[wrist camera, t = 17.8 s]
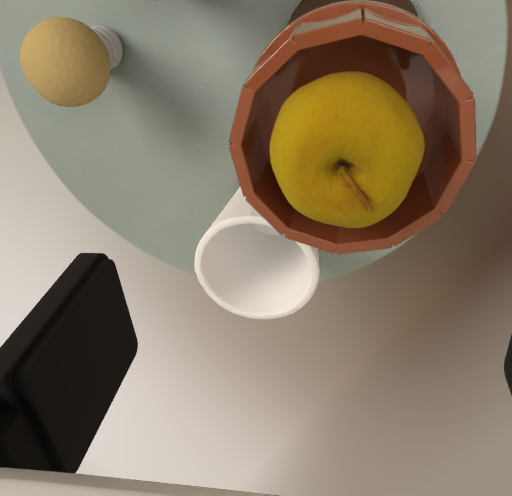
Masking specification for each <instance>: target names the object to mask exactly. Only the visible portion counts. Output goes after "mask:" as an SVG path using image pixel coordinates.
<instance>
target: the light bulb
mask: <svg viewBox="0 0 512 496" xmlns="http://www.w3.org/2000/svg"><path fill="white" fill-rule="evenodd" d="M122 55H123V47H122V44H121V41H120V39H119V37H118V36H117V34H116V33H115V32H114V31H113V30H111V29H110V28H108V27H106V26H104V25H93V26H90V27H88V26H87V25H85V24H84V23H82V22H80V21H77V20H74V19H71V18H65V17H56V18H49V19H47V20H44V21H42V22H40V23H38V24H37V25H36V26H34V27H33V28H32V29H31V30H30V31H29V33H28V34H27V36H26V37H25V39H24V41H23V44H22V47H21V51H20V62H21V67H22V69H23V72H24V74H25V76H26V78H27V80H28V81H29V83H30V84H31V85H32V87H33V88H34V89H35V90H36V91H37V92H38V93H39V94H40V95H41V96H42V97H43V98H45V99H46V100H48V101H49V102H51V103H53V104H56V105H59V106H66V107H75V106H81V105H84V104H87V103H89V102H91V101H93V100H94V99H96V98H97V97H98V96H99V95H100V94H101V93H102V92H103V90H104V89H105V87H106V86H107V83H108V81H109V77H110V72H111V70H112V69H114V68H115V67H117V66H118V64H119V63H120V61H121V59H122Z"/></svg>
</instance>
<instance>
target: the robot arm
mask: <svg viewBox="0 0 512 496" xmlns="http://www.w3.org/2000/svg"><path fill="white" fill-rule="evenodd" d="M137 348H138V342H137V337H136V334H135V331H134V327H133V324H132V320H131V317H130V314H129V310H128V307H127V303H126V300H125V297H124V293H123V290H122V286H121V283H120V279H119V276H118V273H117V270H116V266H115V263H114V262H113V260H111V259H108V257H107V256H106V255H105V254H103V253H80V254H79V255H78V256H77V257H76V258H75V259H74V260H73V262H72V263H71V264H70V265H69V266H68V268H67V269H66V270H65V271H64V272H63V273H62V275H61V276H60V277H59V278H58V279H57V281H56V282H55V283H54V284H53V285H52V287H51V288H50V289H49V290H48V291H47V293H46V294H45V295H44V296H43V297H42V298H41V300H40V301H39V302H38V303H37V304H36V306H35V307H34V308H33V309H32V311H31V312H30V313H29V314H28V315H27V316H26V318H25V319H24V320H23V321H22V322H21V324H20V325H19V326H18V327H17V328H16V329H15V331H14V332H13V333H12V334H11V335H10V337H9V338H8V339H7V340H6V341H5V343H4V344H3V345H2V346H1V347H0V496H278V495H270V494H261V493H252V492H243V491H234V490H225V489H215V488H206V487H197V486H188V485H179V484H169V483H160V482H150V481H141V480H131V479H121V478H112V477H102V476H93V475H84V474H75V473H76V471H77V470H78V468H79V466H80V464H81V462H82V460H83V458H84V456H85V454H86V452H87V450H88V448H89V446H90V445H91V443H92V440H93V439H94V436H95V435H96V433H97V430H98V429H99V427H100V425H101V423H102V421H103V419H104V417H105V415H106V413H107V411H108V409H109V407H110V405H111V402H112V401H113V399H114V397H115V395H116V393H117V391H118V389H119V387H120V385H121V383H122V381H123V379H124V377H125V375H126V373H127V371H128V369H129V367H130V365H131V363H132V361H133V359H134V357H135V355H136V352H137ZM504 372H505V377H506V380H507V383H508V386H509V389H510V392H511V395H512V335H511V339H510V343H509V346H508V350H507V354H506V357H505V362H504Z"/></svg>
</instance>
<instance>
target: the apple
mask: <svg viewBox="0 0 512 496" xmlns="http://www.w3.org/2000/svg"><path fill="white" fill-rule="evenodd" d="M424 150H425V141H424V135H423V132H422V130H421V127H420V125H419V122H418V120H417V118H416V116H415V114H414V112H413V110H412V109H411V107H410V106H409V104H408V103H407V102H406V101H405V100H404V98H403V97H402V96H401V95H400V94H399V93H398V92H397V91H396V90H394V89H393V88H392V87H391V86H390V85H389V84H388V83H386V82H385V81H383V80H382V79H380V78H378V77H376V76H373V75H371V74H368V73H365V72H360V71H358V72H357V71H346V72H337V73H332V74H328V75H325V76H323V77H321V78H318V79H316V80H314V81H312V82H310V83H308V84H306V85H304V86H302V87H300V88H298V89H297V90H296V91H295V92H293V93H292V94H291V95H290V96H289V97H288V98H287V100H286V101H285V102H284V104H283V105H282V107H281V109H280V111H279V114H278V116H277V119H276V122H275V125H274V128H273V131H272V135H271V140H270V149H269V151H270V160H271V165H272V169H273V171H274V174H275V176H276V179H277V182H278V184H279V186H280V188H281V189H282V192H283V194H284V195H285V197H286V199H287V200H288V202H289V203H290V204H291V205H292V206H293V208H295V209H296V210H297V211H298V212H300V213H301V214H303V215H304V216H306V217H308V218H310V219H313V220H315V221H318V222H322V223H325V224H330V225H335V226H340V227H346V228H362V227H367V226H370V225H373V224H375V223H377V222H379V221H380V220H382V219H384V218H386V217H387V216H388V215H390V214H391V213H392V212H393V211H395V210H396V209H397V208H398V206H399V205H400V204H401V203H402V201H403V200H404V199H405V197H406V195H407V193H408V191H409V189H410V187H411V184H412V182H413V180H414V178H415V175H416V173H417V171H418V169H419V166H420V164H421V161H422V158H423V154H424Z"/></svg>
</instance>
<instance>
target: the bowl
mask: <svg viewBox="0 0 512 496" xmlns="http://www.w3.org/2000/svg"><path fill="white" fill-rule="evenodd" d="M346 71H357V72H358V71H360V72H365V73H368V74H371V75H373V76H376V77H378V78H380V79H382V80H383V81H385V82H386V83H388V84H389V85H390V86H391V87H392V88H393V89H394V90H396V91H397V92H398V93H399V94H400V95H401V96H402V97H403V98H404V100H405V101H406V102H407V103H408V104H409V106H410V107H411V109H412V110H413V112H414V114H415V116H416V118H417V120H418V122H419V125H420V127H421V130H422V132H423V135H424V141H425V150H424V154H423V158H422V161H421V164H420V166H419V169H418V171H417V173H416V175H415V178H414V180H413V182H412V184H411V187H410V189H409V191H408V193H407V195H406V197H405V199H404V200H403V201H402V203H401V204H400V205H399V206H398V208H397V209H396V210H395V211H393V212H392V213H391V214H390V215H388V216H387V217H386V218H384V219H382V220H380V221H379V222H377V223H375V224H373V225H370V226H367V227H362V228H346V227H340V226H335V225H330V224H325V223H322V222H318V221H315V220H313V219H310V218H308V217H306V216H304V215H303V214H301V213H300V212H298V211H297V210H296V209H295V208H293V206H292V205H291V204H290V203H289V202H288V200H287V199H286V197H285V195H284V194H283V192H282V189H281V188H280V186H279V184H278V182H277V179H276V176H275V174H274V171H273V169H272V165H271V160H270V151H269V149H270V140H271V135H272V131H273V128H274V125H275V122H276V119H277V116H278V114H279V111H280V109H281V107H282V105H283V104H284V102H285V101H286V100H287V98H288V97H289V96H290V95H291V94H292V93H293V92H295V91H296V90H297V89H298V88H300V87H302V86H304V85H306V84H308V83H310V82H312V81H314V80H316V79H318V78H321V77H323V76H325V75H328V74H332V73H337V72H346ZM472 95H473V93H472V91H471V90H470V89H469V87H468V86H467V85H466V83H465V82H464V81H463V79H462V78H461V75H460V72H459V69H458V67H457V64H456V62H455V60H454V57H453V55H452V54H451V52H450V51H449V49H448V47H447V46H446V44H445V43H444V42H443V41H442V39H441V38H440V37H439V36H438V35H437V34H436V33H435V31H434V30H433V29H432V28H430V27H429V26H428V25H427V24H426V23H425V22H423V21H422V20H421V19H419V18H418V17H416V16H414V15H413V14H411V13H409V12H408V11H405V10H403V9H401V8H398V7H396V6H393V5H389V4H385V3H381V2H376V1H366V0H353V1H343V2H337V3H332V4H329V5H326V6H323V7H320V8H317V9H314V10H312V11H310V12H308V13H306V14H304V15H302V16H301V17H299V18H298V19H296V20H295V21H293V22H292V23H290V24H289V25H288V26H286V27H285V28H284V29H283V30H282V31H281V32H280V33H279V34H277V36H276V37H275V38H274V39H273V40H272V41H271V42H270V44H269V45H268V46H267V47H266V48H265V50H264V51H263V53H262V54H261V56H260V57H259V59H258V61H257V62H256V64H255V66H254V69H253V71H252V73H251V75H250V76H249V77H248V79H247V80H246V81H245V84H244V85H243V87H242V90H241V94H240V98H239V102H238V106H237V110H236V113H235V117H234V121H233V125H232V129H231V133H230V137H229V143H230V144H229V149H230V153H231V156H232V159H233V163H234V166H235V170H236V173H237V177H238V180H239V183H240V187H241V190H242V194H243V196H244V197H246V201H247V202H248V203H249V204H250V205H251V206H252V207H253V208H254V209H255V210H256V211H257V212H258V213H259V214H260V215H261V216H262V217H263V218H264V219H265V220H266V221H267V222H268V223H269V224H270V225H271V226H272V227H273V228H274V229H275V230H276V231H277V232H278V233H279V234H280V235H284V234H285V238H287V239H290V240H293V241H296V242H299V243H302V244H305V245H308V246H311V247H314V248H318V249H321V250H324V251H327V252H330V253H333V254H334V253H335V252H336V251H337V254H345V253H354V252H362V251H370V250H379V249H387V248H392V244H393V246H397V245H398V244H400V243H402V242H403V241H405V240H406V239H408V238H410V237H411V236H413V235H414V234H416V233H418V232H419V231H421V230H422V229H424V228H425V227H427V226H429V225H430V224H432V223H434V222H435V221H437V220H438V219H440V218H441V217H442V216H443V215H442V213H444V214H445V213H446V212H447V211H448V209H449V207H450V206H451V204H452V202H453V200H454V199H455V197H456V195H457V194H458V192H459V190H460V188H461V187H462V185H463V183H464V182H465V180H466V178H467V176H468V175H469V173H470V171H471V170H472V168H473V166H474V164H475V162H474V160H476V122H475V99H474V97H473V96H472ZM391 243H392V244H391Z"/></svg>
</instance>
